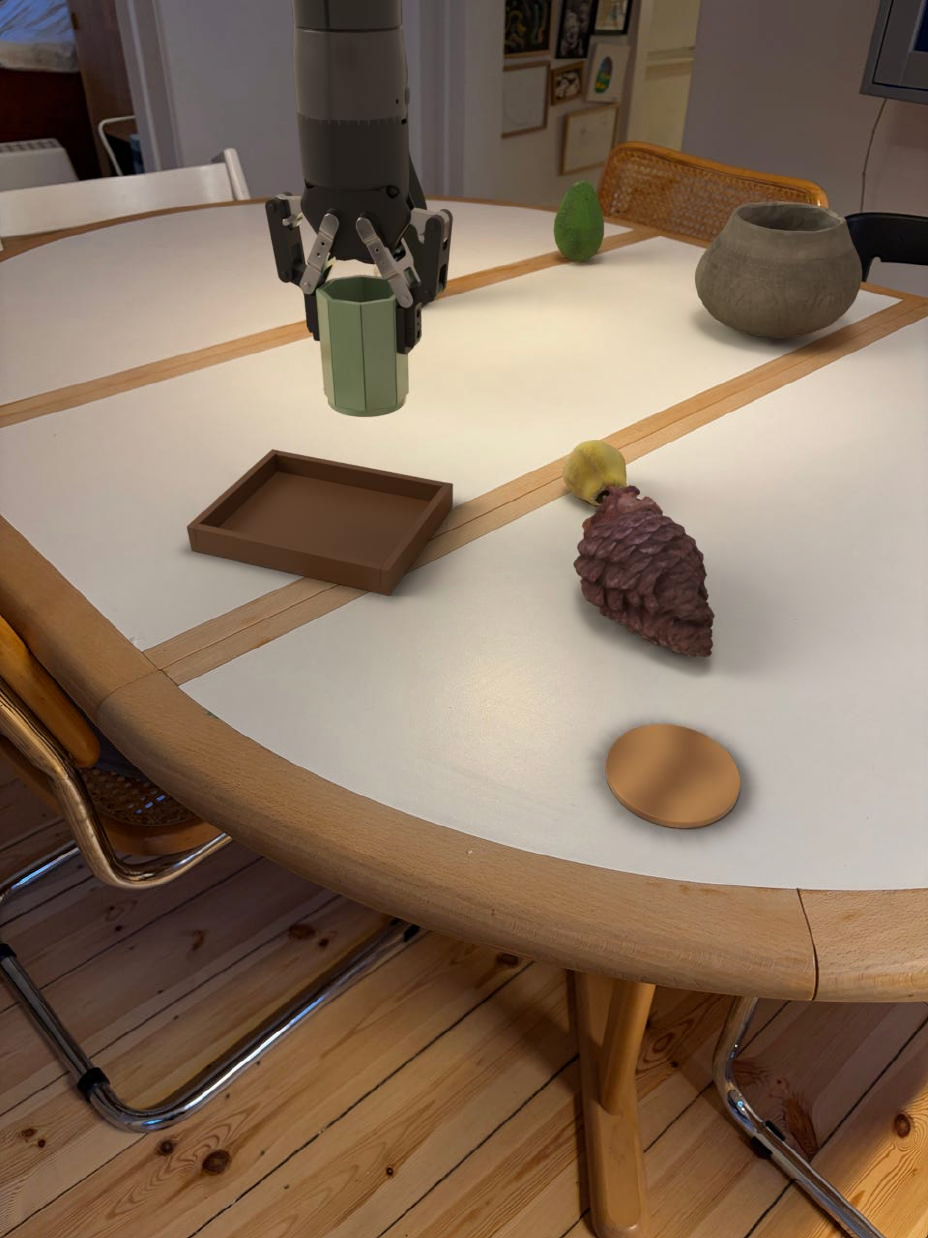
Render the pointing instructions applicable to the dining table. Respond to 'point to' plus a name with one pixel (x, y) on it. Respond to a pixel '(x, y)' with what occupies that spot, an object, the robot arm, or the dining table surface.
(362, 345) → the cup
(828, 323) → the clay pot
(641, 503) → the pine cone
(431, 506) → the tray
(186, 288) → the dining table surface
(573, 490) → the fruit
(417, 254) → the wine bottle
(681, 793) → the coaster
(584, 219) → the fruit
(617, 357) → the dining table surface
